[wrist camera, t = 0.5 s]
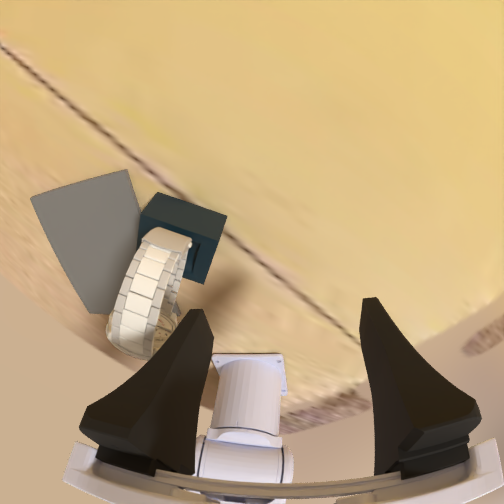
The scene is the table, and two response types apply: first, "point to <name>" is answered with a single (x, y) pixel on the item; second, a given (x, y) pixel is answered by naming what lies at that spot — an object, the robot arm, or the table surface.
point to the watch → (162, 272)
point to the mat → (93, 235)
